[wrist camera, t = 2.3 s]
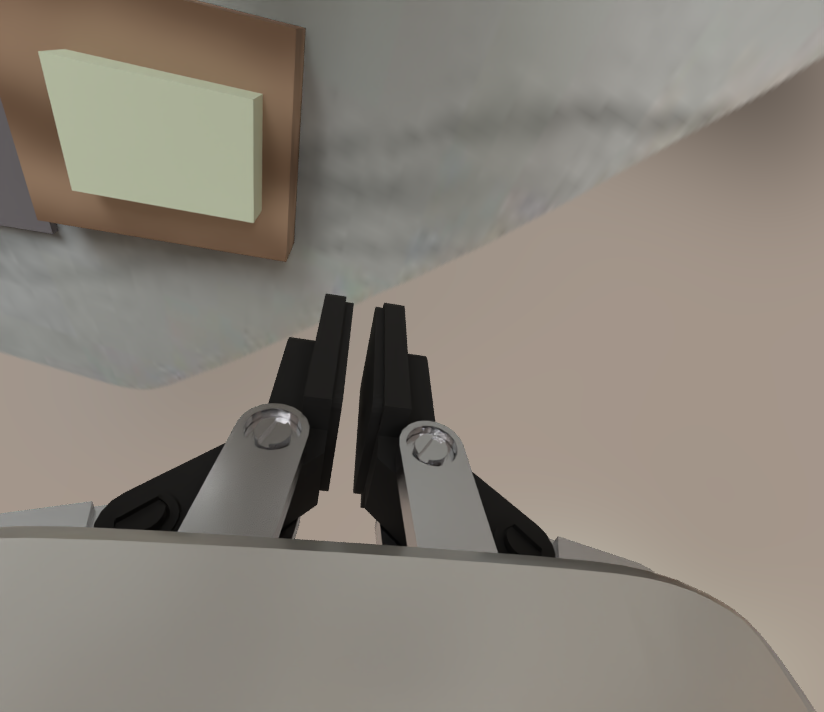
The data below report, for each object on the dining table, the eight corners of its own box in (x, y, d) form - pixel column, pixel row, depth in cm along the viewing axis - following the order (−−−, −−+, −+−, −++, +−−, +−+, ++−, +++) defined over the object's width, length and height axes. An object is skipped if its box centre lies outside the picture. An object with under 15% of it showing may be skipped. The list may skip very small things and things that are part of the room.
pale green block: (92, 179, 24) (71, 190, 23) (64, 48, 21) (38, 51, 19) (261, 210, 26) (253, 223, 24) (262, 93, 22) (253, 99, 20)
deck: (3, -49, 21) (-47, -59, 18) (305, 28, 23) (296, 28, 21) (67, 203, 28) (37, 220, 25) (293, 242, 30) (285, 261, 28)
